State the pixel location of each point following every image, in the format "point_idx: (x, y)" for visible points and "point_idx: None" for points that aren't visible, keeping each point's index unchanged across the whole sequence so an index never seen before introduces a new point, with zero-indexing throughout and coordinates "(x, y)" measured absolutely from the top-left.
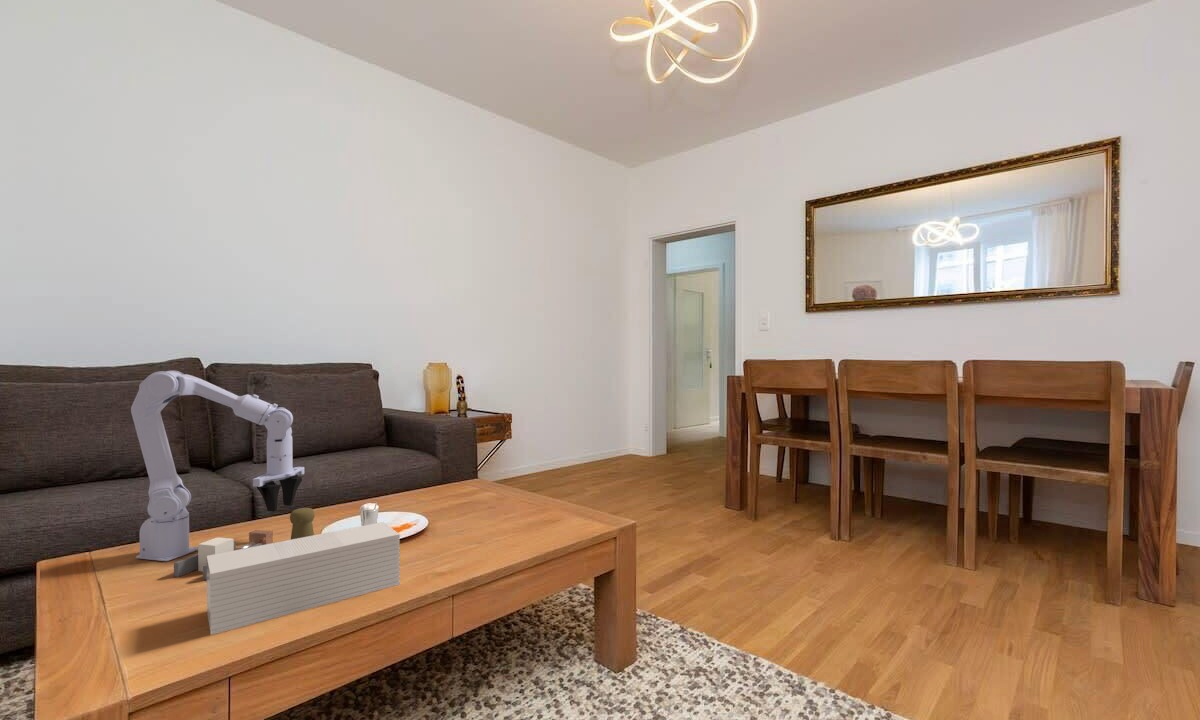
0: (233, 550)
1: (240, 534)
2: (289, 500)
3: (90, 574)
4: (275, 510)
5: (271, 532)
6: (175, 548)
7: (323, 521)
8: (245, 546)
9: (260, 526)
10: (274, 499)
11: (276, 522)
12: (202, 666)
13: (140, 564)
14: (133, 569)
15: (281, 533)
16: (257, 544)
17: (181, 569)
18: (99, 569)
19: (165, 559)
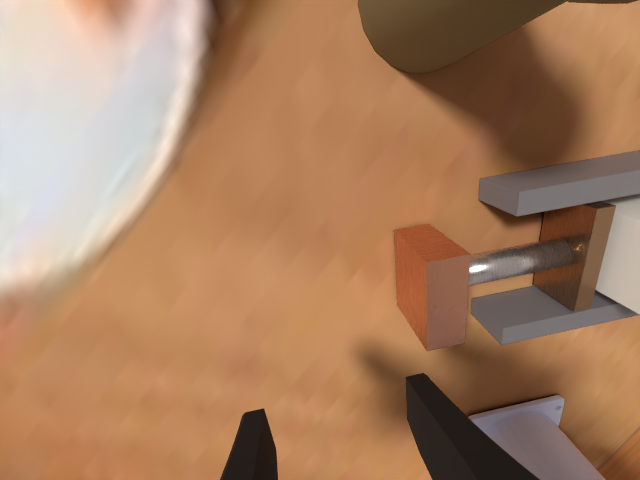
0: (628, 216)
1: (316, 451)
2: (265, 459)
3: (630, 443)
4: (415, 378)
5: (432, 259)
6: (551, 430)
7: (21, 351)
8: (516, 259)
9: None
10: (507, 457)
11: (166, 475)
12: None
13: (573, 425)
14: (605, 406)
15: (244, 357)
16: (532, 204)
17: None
18: (603, 457)
19: (563, 402)
